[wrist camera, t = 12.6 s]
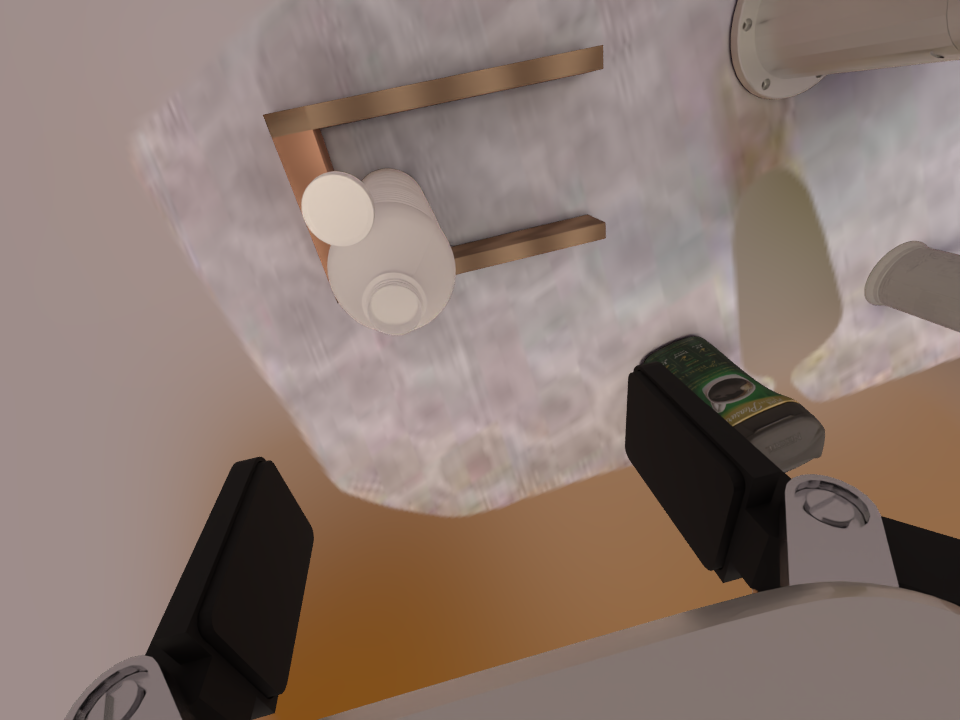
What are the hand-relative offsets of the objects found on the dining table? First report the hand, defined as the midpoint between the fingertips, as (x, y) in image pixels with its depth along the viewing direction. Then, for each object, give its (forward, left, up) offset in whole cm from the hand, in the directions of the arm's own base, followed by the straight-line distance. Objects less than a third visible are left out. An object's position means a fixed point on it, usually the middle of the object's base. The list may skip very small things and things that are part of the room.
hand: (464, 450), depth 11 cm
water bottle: (+2, -2, -33) cm, 33 cm away
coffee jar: (-29, +26, -33) cm, 51 cm away
